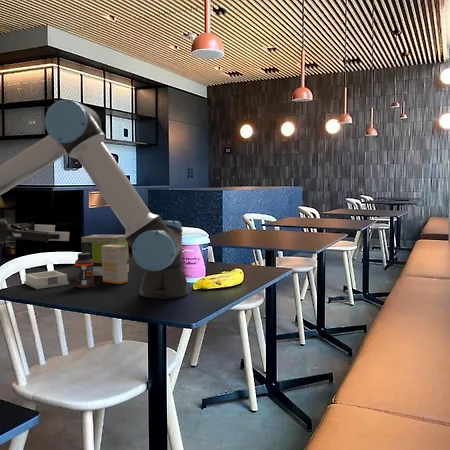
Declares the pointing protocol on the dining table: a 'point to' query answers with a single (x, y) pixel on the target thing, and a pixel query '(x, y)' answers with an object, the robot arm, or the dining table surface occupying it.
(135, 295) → the dining table surface
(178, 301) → the dining table surface
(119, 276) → the supplement box
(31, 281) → the shallow beige box
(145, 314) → the dining table surface
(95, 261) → the tea box
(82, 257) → the supplement bottle
